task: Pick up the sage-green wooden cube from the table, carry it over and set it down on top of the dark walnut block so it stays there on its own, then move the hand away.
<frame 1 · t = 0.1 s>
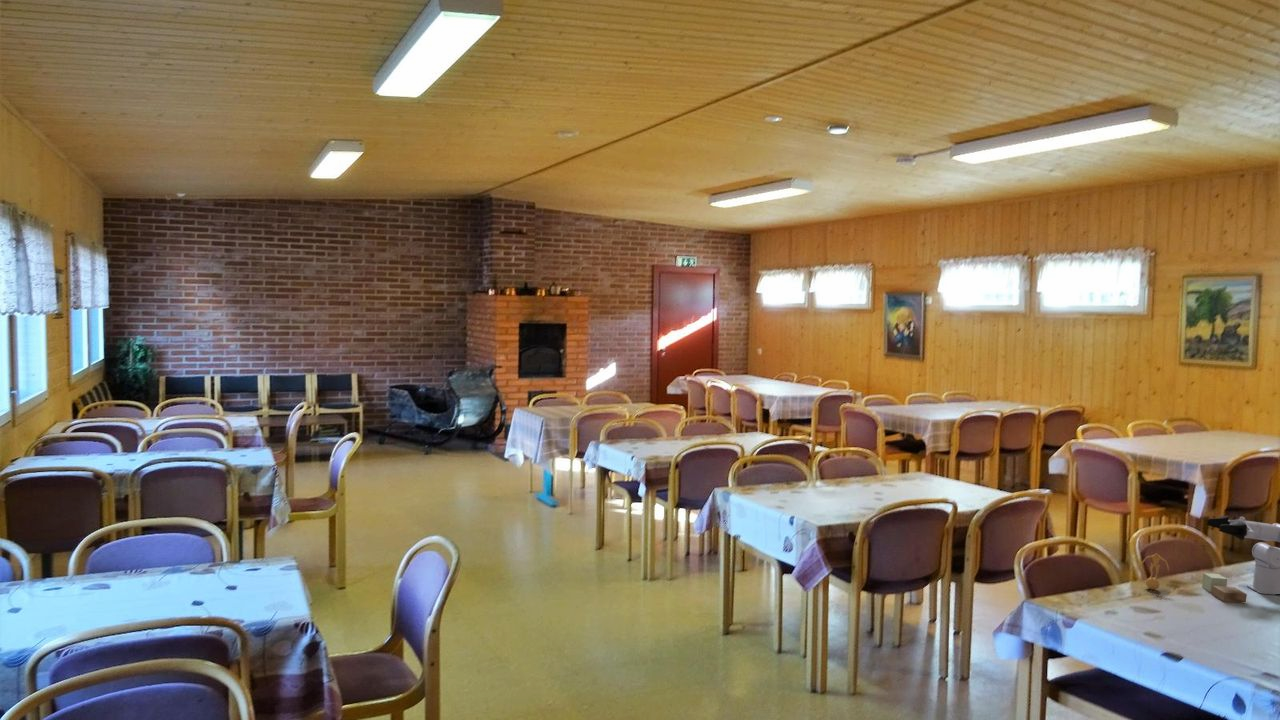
hand: (1213, 524, 310), 22 cm above the table, tool horizontal, fingers open, 7 cm apart
sage cube: (1213, 590, 309), on the table
figurine: (1152, 589, 307), on the table
walnut block: (1228, 598, 301), on the table
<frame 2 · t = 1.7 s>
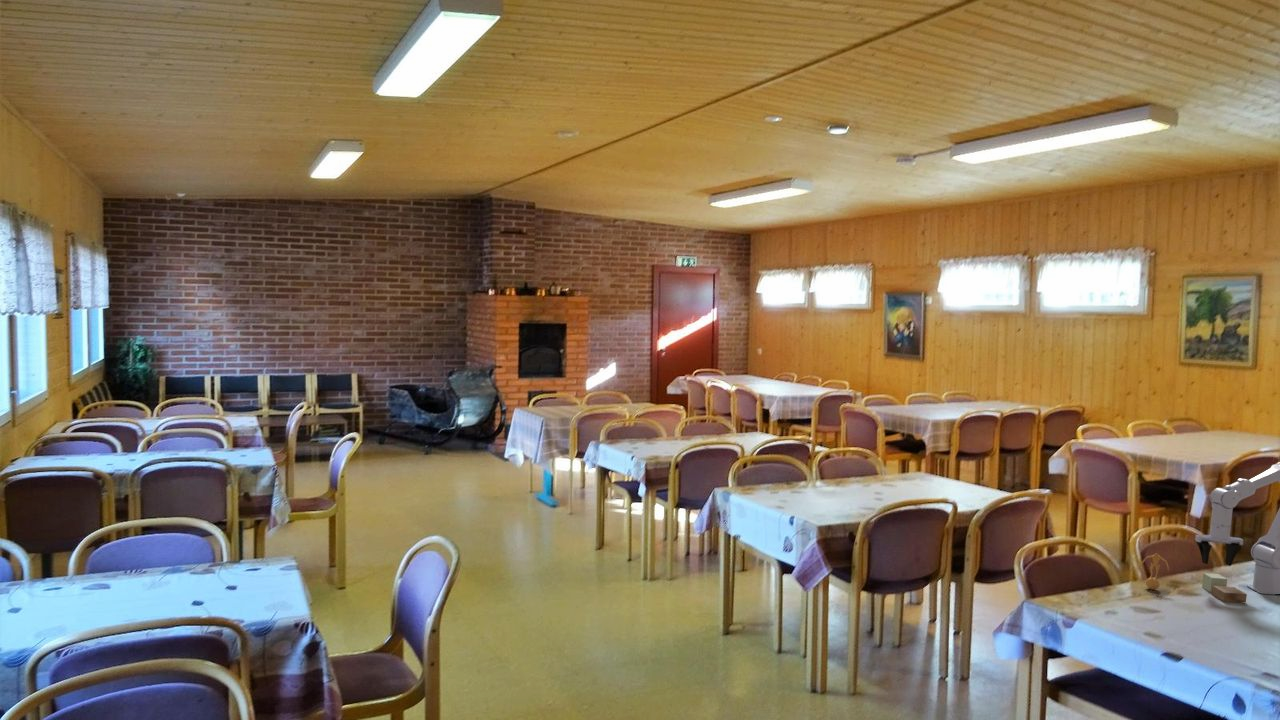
hand: (1216, 564, 308), 9 cm above the table, tool pointing down, fingers open, 7 cm apart
nothing on the table moved.
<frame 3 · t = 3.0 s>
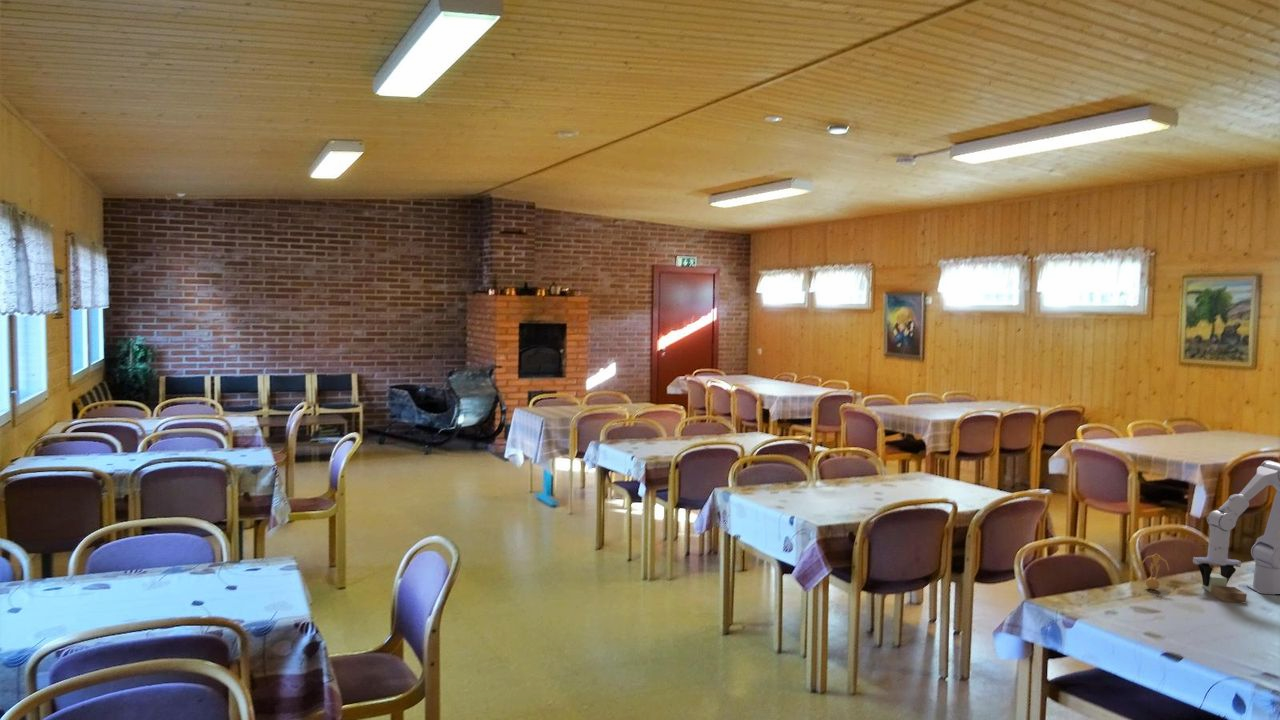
hand: (1214, 586, 309), 1 cm above the table, tool pointing down, fingers closed on sage cube, 5 cm apart
sage cube: (1213, 590, 309), on the table, touching gripper
everything else where it was.
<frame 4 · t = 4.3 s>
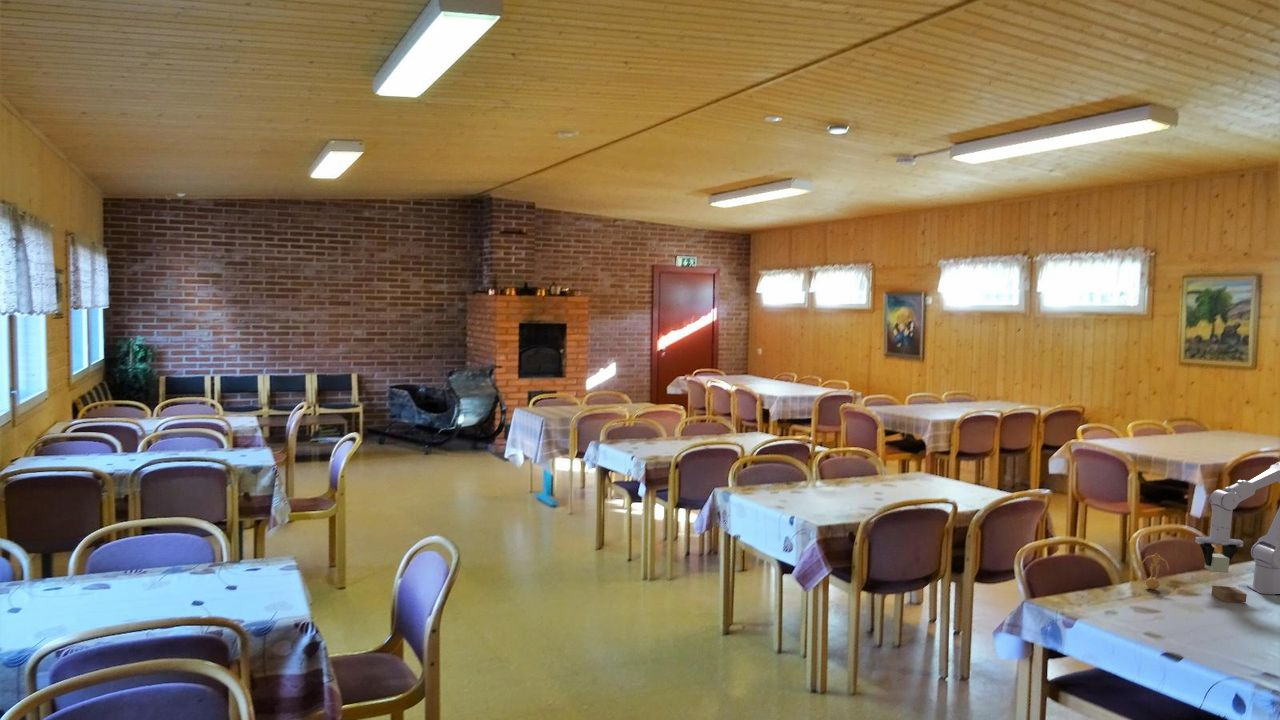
hand: (1216, 565, 308), 8 cm above the table, tool pointing down, fingers closed on sage cube, 5 cm apart
sage cube: (1216, 570, 308), point 7 cm above the table, touching gripper
everything else where it was.
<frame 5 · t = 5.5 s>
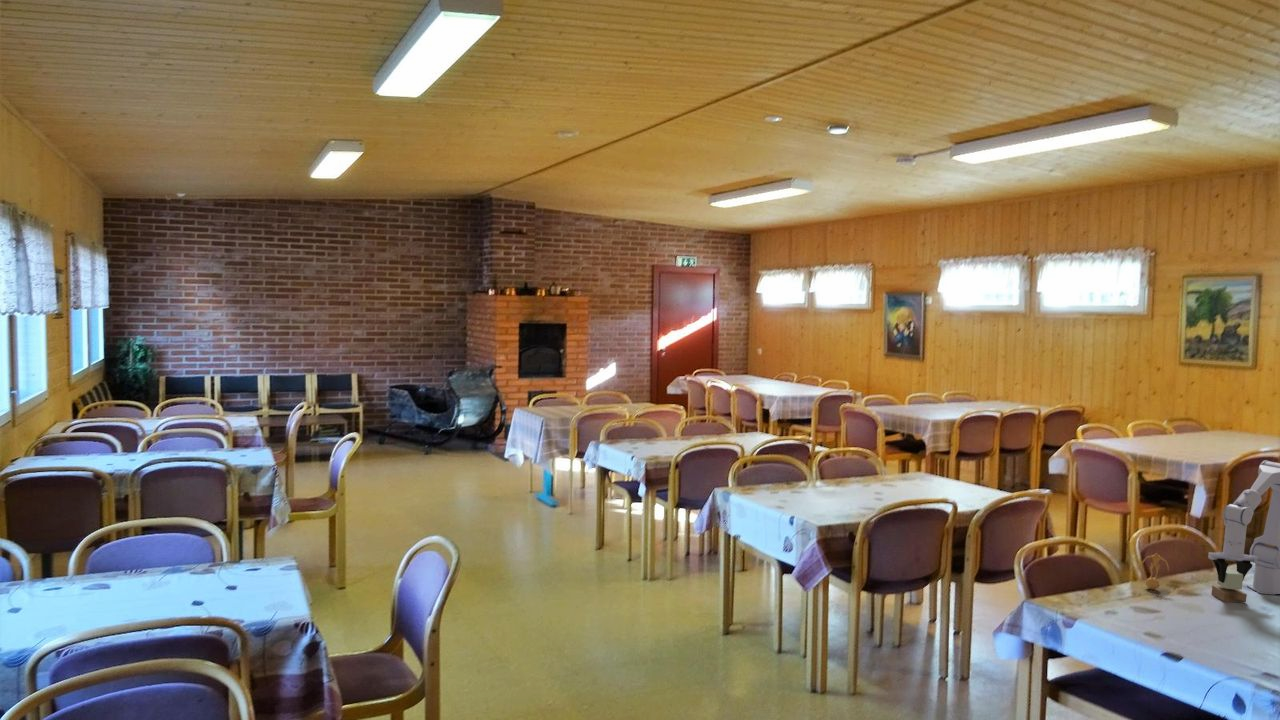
hand: (1230, 582, 300), 6 cm above the table, tool pointing down, fingers closed on sage cube, 5 cm apart
sage cube: (1229, 586, 300), point 4 cm above the table, touching gripper
everything else where it was.
when the fingers open (5 cm above the table, at t = 6.0 s): sage cube stays where it is, resting on walnut block.
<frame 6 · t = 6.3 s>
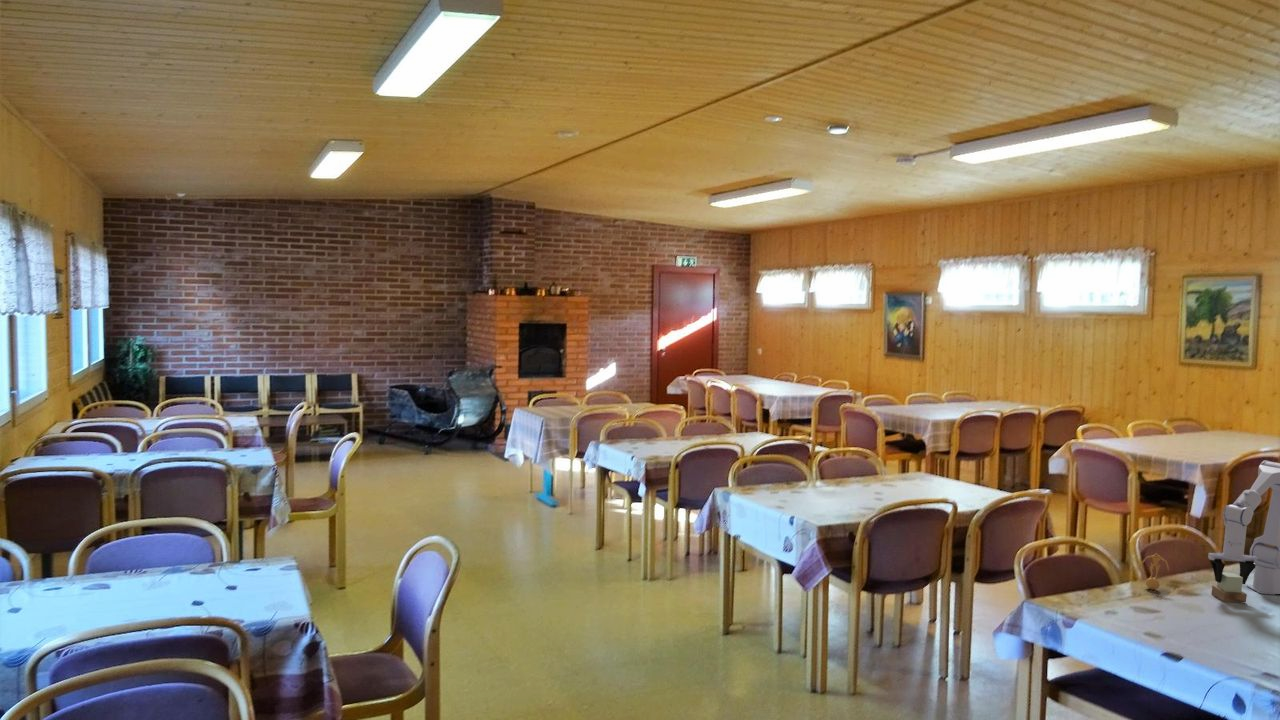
hand: (1230, 582, 300), 5 cm above the table, tool pointing down, fingers open, 7 cm apart
sage cube: (1228, 589, 301), point 3 cm above the table, touching walnut block
everything else where it was.
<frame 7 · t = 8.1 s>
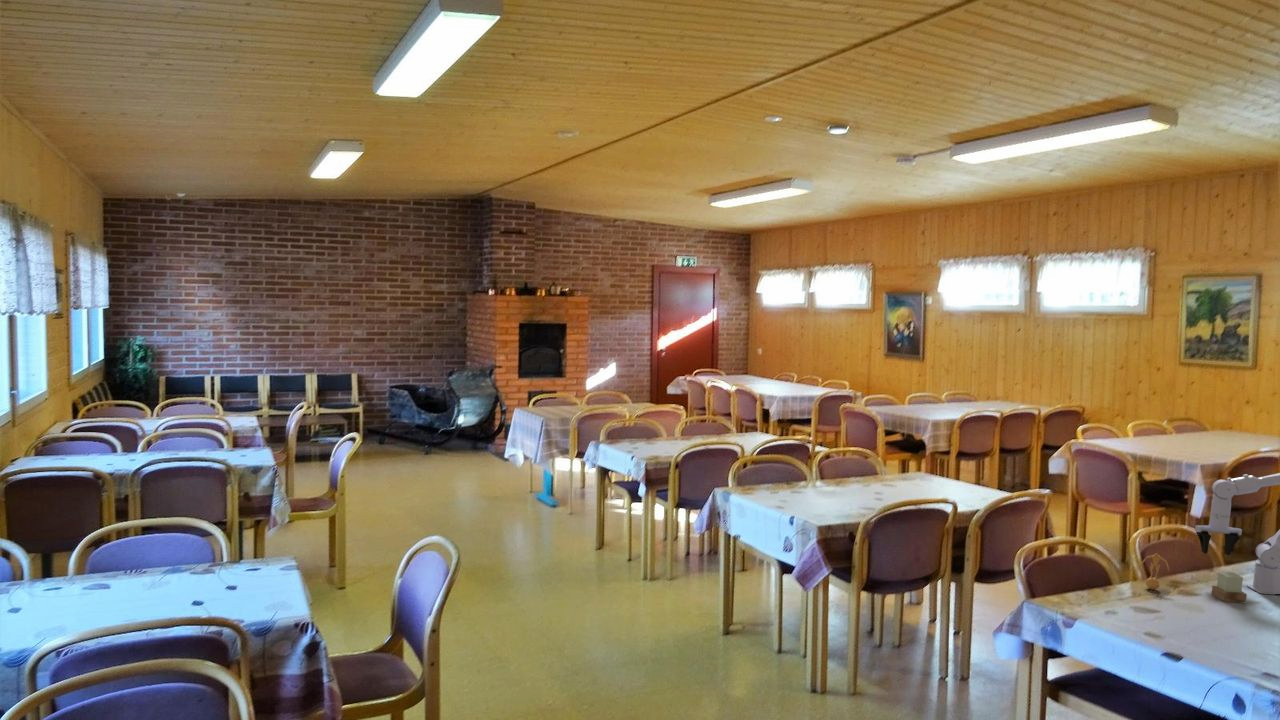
hand: (1215, 553, 316), 10 cm above the table, tool pointing down, fingers open, 7 cm apart
nothing on the table moved.
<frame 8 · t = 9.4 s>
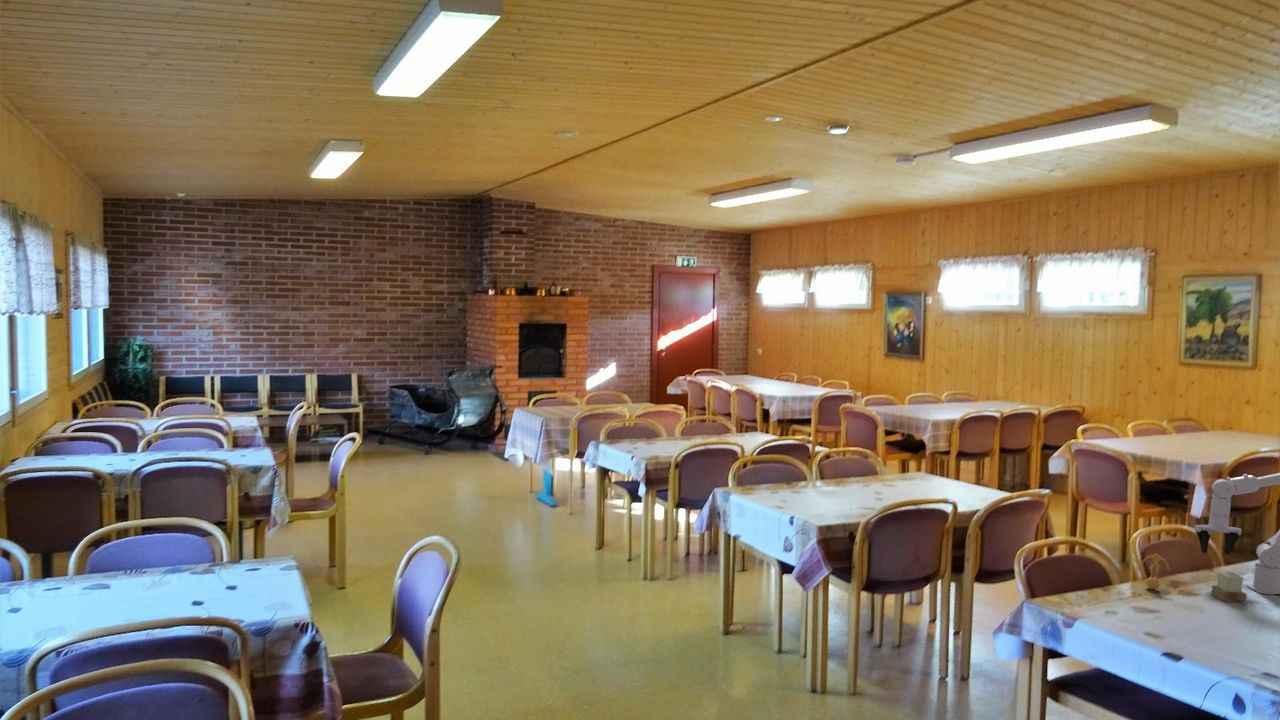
hand: (1215, 553, 317), 10 cm above the table, tool pointing down, fingers open, 7 cm apart
nothing on the table moved.
at the end: sage cube 0.2 cm off-centre on the walnut block, point 3.0 cm above the walnut block's base; sage cube tilted 0°; the gripper is holding nothing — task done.
